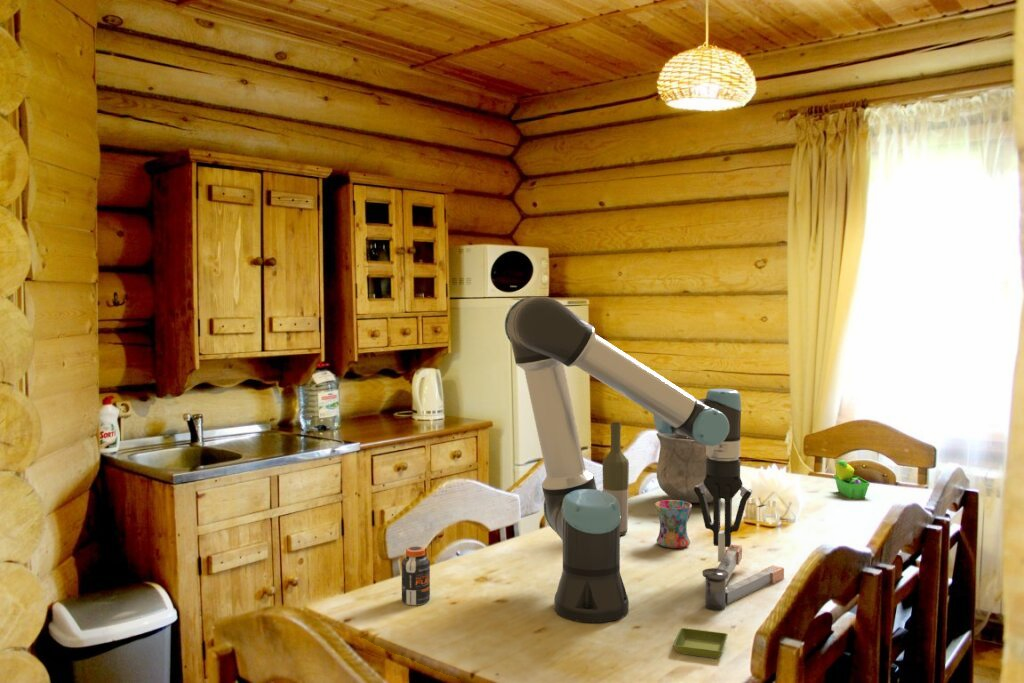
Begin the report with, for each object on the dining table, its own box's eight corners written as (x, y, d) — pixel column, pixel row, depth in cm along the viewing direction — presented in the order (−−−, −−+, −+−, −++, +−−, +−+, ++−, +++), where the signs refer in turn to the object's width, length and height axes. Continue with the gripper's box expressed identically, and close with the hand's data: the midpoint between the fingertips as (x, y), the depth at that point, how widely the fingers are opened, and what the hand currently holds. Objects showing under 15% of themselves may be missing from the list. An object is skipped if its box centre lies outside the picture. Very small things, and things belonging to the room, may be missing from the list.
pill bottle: (418, 608, 173) (417, 554, 172) (395, 602, 176) (395, 549, 175) (435, 599, 178) (435, 546, 177) (413, 594, 181) (413, 542, 180)
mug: (677, 552, 209) (677, 510, 208) (647, 545, 215) (647, 504, 215) (704, 542, 217) (705, 502, 216) (675, 535, 224) (675, 496, 223)
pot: (677, 489, 278) (677, 424, 276) (746, 498, 264) (746, 431, 263) (642, 504, 257) (642, 435, 256) (715, 515, 244) (715, 442, 242)
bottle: (621, 538, 221) (621, 425, 219) (597, 534, 225) (597, 423, 223) (633, 532, 227) (633, 422, 225) (610, 528, 231) (610, 420, 229)
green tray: (672, 656, 150) (672, 645, 149) (680, 638, 158) (680, 627, 158) (722, 663, 146) (722, 651, 146) (728, 644, 155) (728, 633, 154)
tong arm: (724, 590, 174) (724, 576, 174) (711, 588, 175) (711, 574, 175) (741, 558, 195) (741, 545, 195) (729, 557, 196) (729, 544, 196)
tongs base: (719, 613, 168) (719, 578, 168) (697, 607, 172) (697, 572, 172) (788, 579, 188) (789, 548, 188) (767, 574, 192) (767, 543, 192)
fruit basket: (870, 499, 262) (871, 463, 261) (842, 499, 262) (842, 463, 262) (856, 490, 273) (856, 456, 273) (829, 491, 273) (829, 456, 273)
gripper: (691, 458, 188) (690, 561, 189) (750, 463, 183) (749, 568, 185) (697, 452, 195) (696, 552, 196) (754, 456, 190) (753, 558, 192)
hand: (722, 560), depth 191 cm, fingers closed
